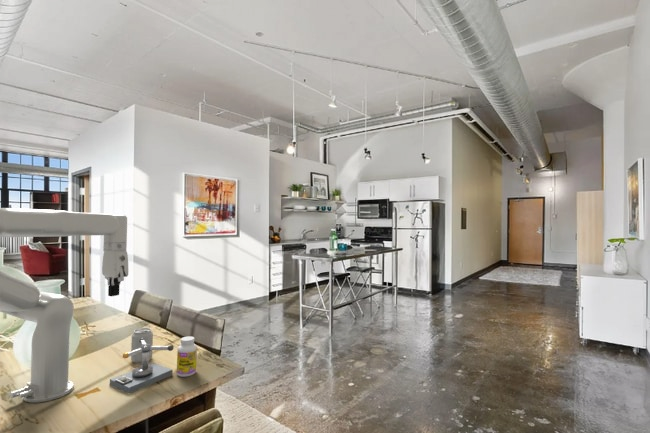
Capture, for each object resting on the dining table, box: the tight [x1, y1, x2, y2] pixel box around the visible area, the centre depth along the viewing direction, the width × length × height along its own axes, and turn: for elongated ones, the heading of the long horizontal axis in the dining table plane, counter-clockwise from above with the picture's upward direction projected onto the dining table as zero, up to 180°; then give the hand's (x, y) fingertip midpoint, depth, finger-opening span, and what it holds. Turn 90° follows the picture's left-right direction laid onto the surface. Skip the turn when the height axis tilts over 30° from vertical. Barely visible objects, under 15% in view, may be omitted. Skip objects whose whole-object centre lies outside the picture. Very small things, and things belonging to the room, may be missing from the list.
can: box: [130, 327, 154, 364], centre depth 138 cm, size 8×8×12 cm
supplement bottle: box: [176, 335, 198, 378], centre depth 127 cm, size 7×7×13 cm
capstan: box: [122, 338, 175, 378], centre depth 121 cm, size 14×17×10 cm
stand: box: [109, 362, 173, 395], centre depth 121 cm, size 16×11×4 cm
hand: (113, 295), depth 131 cm, fingers closed
